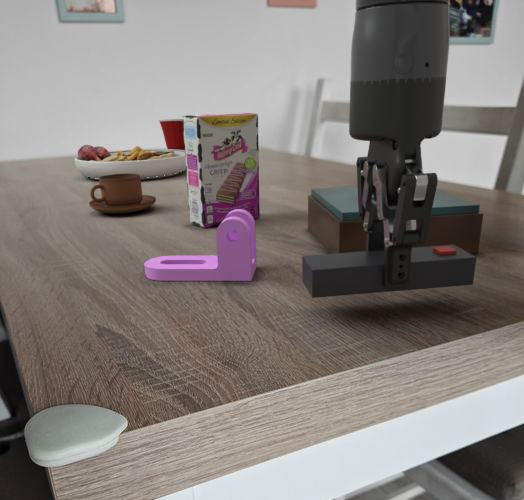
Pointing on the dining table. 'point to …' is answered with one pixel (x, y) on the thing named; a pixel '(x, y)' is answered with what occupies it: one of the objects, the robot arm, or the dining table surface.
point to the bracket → (214, 266)
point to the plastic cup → (173, 133)
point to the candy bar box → (221, 166)
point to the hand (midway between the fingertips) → (385, 277)
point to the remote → (371, 271)
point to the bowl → (130, 162)
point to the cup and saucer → (120, 194)
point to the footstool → (354, 236)
